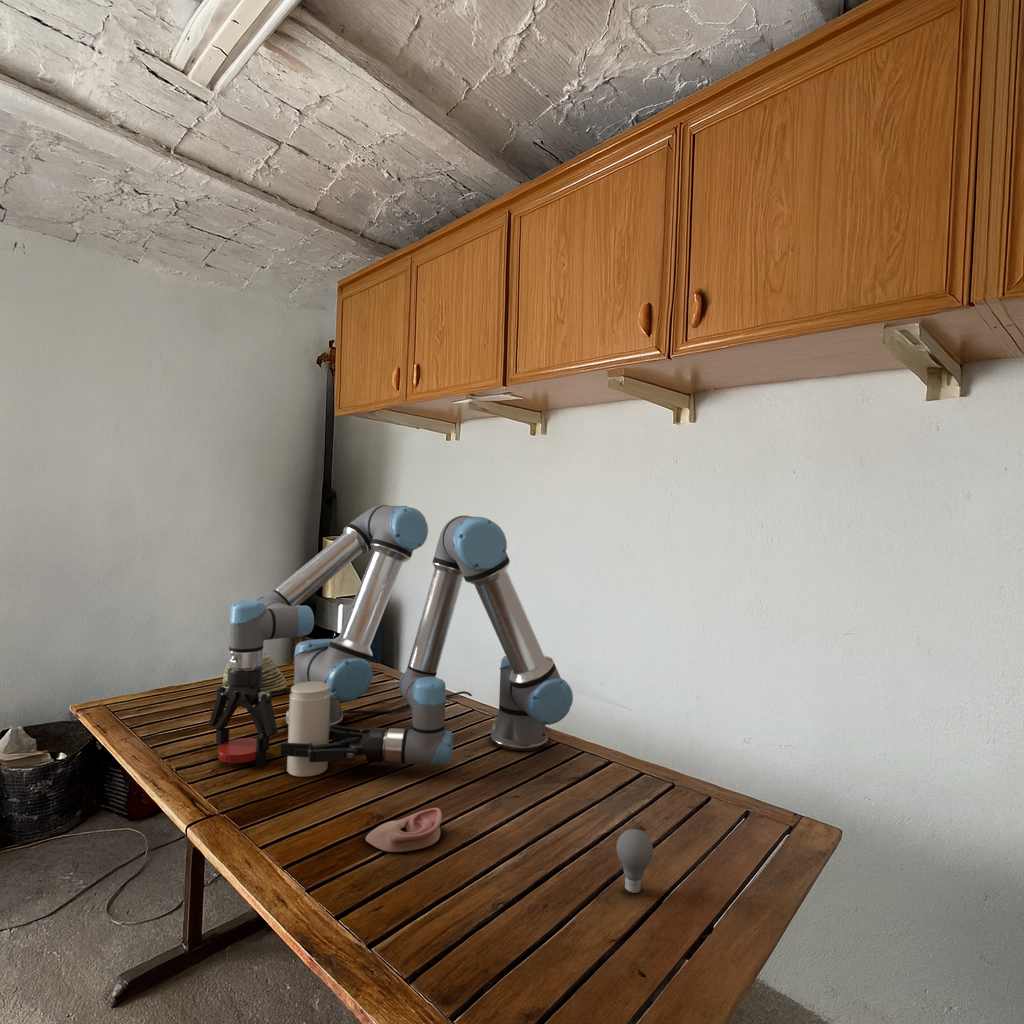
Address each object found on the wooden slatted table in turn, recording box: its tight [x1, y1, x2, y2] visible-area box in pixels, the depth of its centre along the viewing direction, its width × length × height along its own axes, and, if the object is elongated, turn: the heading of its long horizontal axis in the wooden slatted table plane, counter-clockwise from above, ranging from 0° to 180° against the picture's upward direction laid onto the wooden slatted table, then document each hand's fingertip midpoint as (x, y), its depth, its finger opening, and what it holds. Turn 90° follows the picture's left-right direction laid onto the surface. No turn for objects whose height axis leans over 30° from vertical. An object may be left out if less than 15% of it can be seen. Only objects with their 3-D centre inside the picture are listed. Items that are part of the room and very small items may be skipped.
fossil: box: [222, 649, 288, 699], centre depth 198 cm, size 9×18×15 cm, turn 132°
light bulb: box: [615, 828, 654, 894], centre depth 106 cm, size 6×6×10 cm
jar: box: [286, 681, 331, 778], centre depth 147 cm, size 9×9×19 cm
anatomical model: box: [364, 807, 443, 853], centre depth 119 cm, size 13×4×12 cm
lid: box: [217, 737, 257, 764], centre depth 150 cm, size 10×10×2 cm
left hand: (241, 760), depth 150 cm, fingers closed on lid, 10 cm apart
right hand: (289, 740), depth 147 cm, fingers closed on jar, 9 cm apart
